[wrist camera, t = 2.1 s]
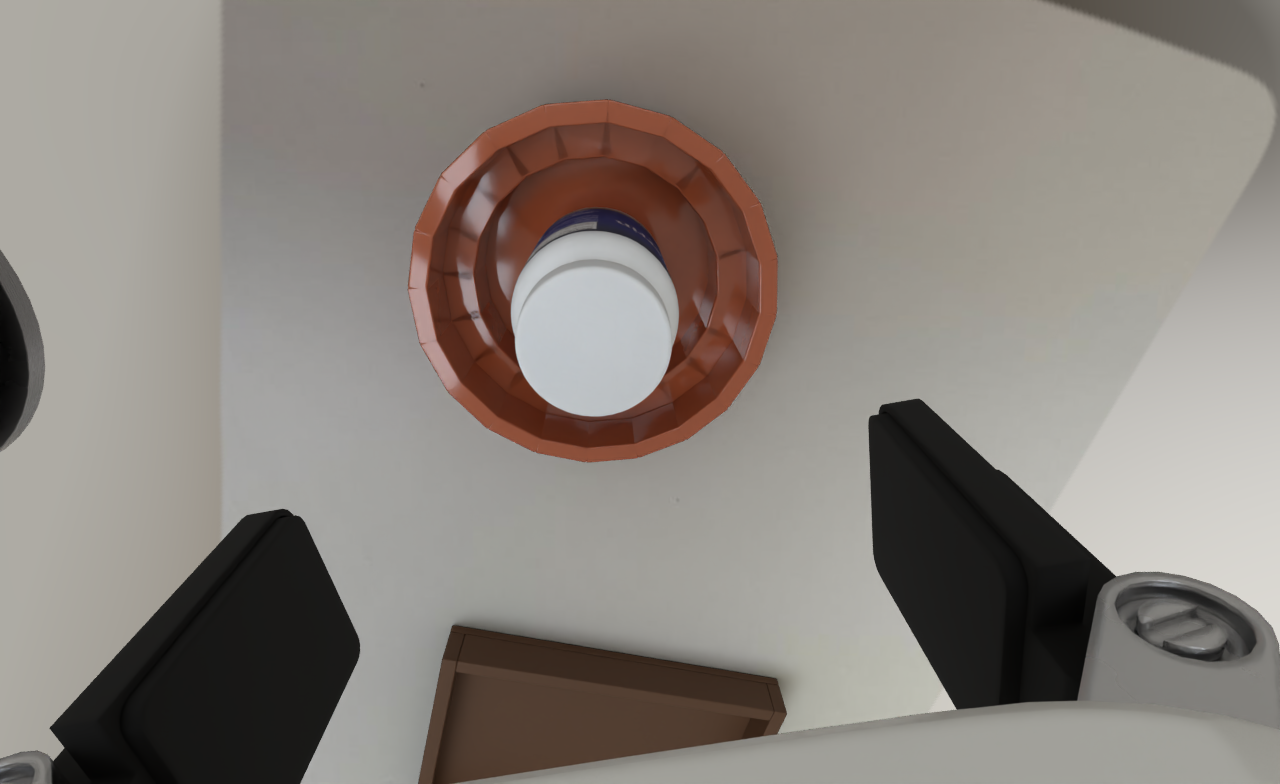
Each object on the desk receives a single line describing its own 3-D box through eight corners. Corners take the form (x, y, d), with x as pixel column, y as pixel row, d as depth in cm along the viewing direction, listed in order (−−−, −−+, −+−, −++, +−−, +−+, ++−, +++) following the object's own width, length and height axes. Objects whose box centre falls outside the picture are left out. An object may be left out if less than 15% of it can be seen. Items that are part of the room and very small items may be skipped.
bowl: (379, 252, 28) (329, 282, 23) (613, 26, 25) (614, 3, 20) (586, 455, 32) (583, 518, 27) (805, 284, 29) (847, 319, 24)
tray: (419, 794, 42) (408, 834, 39) (452, 624, 36) (441, 659, 34) (706, 830, 44) (711, 869, 42) (776, 678, 39) (787, 713, 37)
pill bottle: (686, 295, 29) (723, 380, 19) (577, 356, 29) (563, 465, 20) (621, 177, 26) (628, 211, 17) (506, 247, 27) (455, 313, 18)
